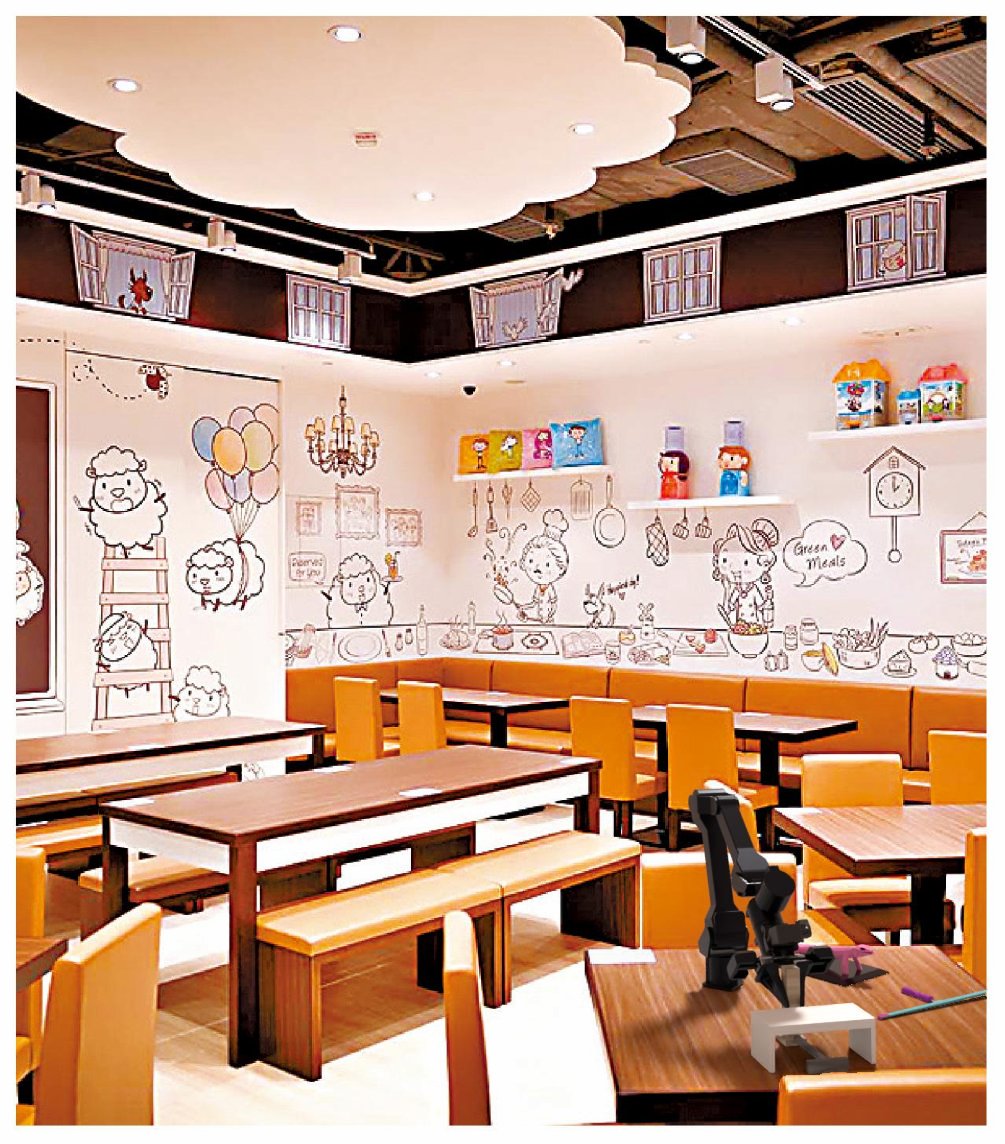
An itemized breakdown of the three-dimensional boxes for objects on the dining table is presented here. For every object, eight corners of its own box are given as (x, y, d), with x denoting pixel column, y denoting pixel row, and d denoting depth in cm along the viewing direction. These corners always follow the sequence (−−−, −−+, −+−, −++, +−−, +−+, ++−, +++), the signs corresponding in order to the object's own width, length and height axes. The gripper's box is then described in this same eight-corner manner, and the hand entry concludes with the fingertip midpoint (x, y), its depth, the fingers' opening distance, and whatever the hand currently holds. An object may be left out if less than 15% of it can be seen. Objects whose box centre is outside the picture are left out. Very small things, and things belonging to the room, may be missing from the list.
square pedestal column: (768, 1039, 214) (767, 964, 215) (805, 1036, 216) (803, 962, 216) (809, 1074, 198) (807, 994, 199) (848, 1070, 200) (847, 991, 200)
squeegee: (951, 975, 246) (991, 989, 237) (952, 984, 246) (992, 998, 237) (843, 1000, 233) (881, 1016, 224) (843, 1009, 233) (881, 1025, 224)
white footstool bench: (751, 1055, 207) (750, 1010, 207) (853, 1046, 210) (852, 1003, 211) (770, 1072, 199) (769, 1026, 199) (876, 1063, 203) (875, 1018, 203)
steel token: (817, 1081, 196) (817, 1075, 196) (826, 1072, 200) (826, 1066, 200) (844, 1087, 194) (844, 1081, 194) (853, 1078, 197) (853, 1072, 197)
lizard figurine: (851, 992, 242) (851, 954, 242) (772, 968, 258) (772, 933, 258) (895, 978, 251) (894, 942, 251) (816, 956, 267) (815, 922, 267)
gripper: (732, 906, 215) (757, 988, 204) (829, 900, 219) (860, 980, 208) (716, 938, 223) (740, 1019, 212) (811, 932, 226) (839, 1011, 215)
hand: (795, 1007), depth 211 cm, fingers closed on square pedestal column, 2 cm apart
